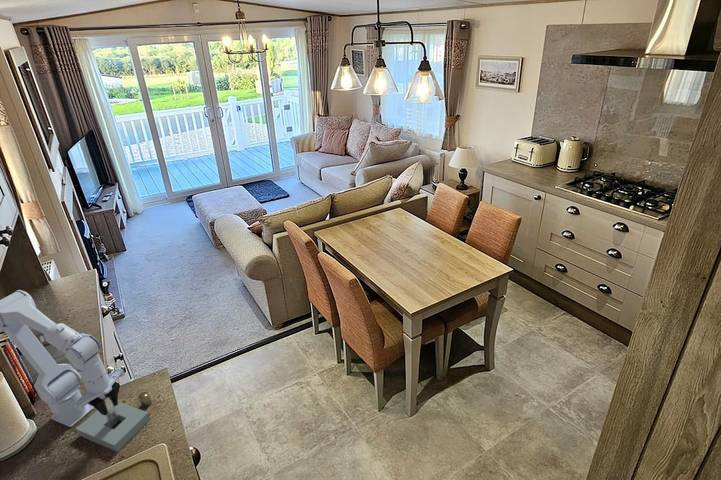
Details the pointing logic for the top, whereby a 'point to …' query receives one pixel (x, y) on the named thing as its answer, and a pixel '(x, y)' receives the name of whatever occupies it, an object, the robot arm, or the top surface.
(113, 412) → the long pin
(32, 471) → the top surface
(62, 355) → the coffee box
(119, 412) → the hole plate
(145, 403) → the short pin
